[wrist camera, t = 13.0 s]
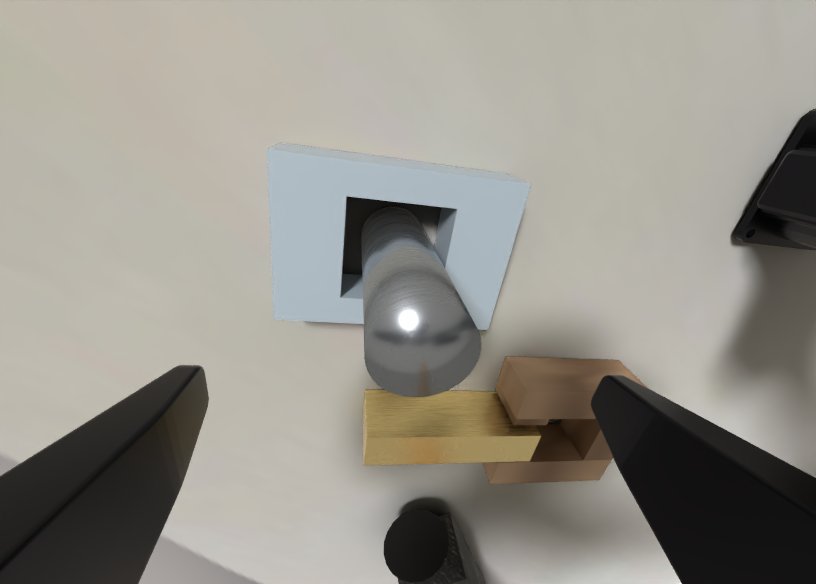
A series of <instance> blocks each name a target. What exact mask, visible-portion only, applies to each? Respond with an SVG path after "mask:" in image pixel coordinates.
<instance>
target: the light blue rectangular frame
mask: <svg viewBox="0 0 816 584" xmlns="http://www.w3.org/2000/svg"><path fill="white" fill-rule="evenodd" d="M267 168H268V192H269V216H270V240H271V264H272V288H273V312H274V320H291V321H312V322H332V323H353V324H364V318H363V283H362V275H355V274H342V273H343V256H344V240H345V224H346V208H347V196H349V197H357V198H366V199H375V200H384V201H392V202H401V203H410V204H419V205H427V206H436V207H441V213H440V218H439V223H438V229H437V234H436V239H435V245H434V249H435V251H436V253H437V255H438V257H439V259H440V260H441V262H442V264H443V266H444V268H445V270H446V271H447V273H448V275H449V277H450V279H451V281H452V282H453V284H454V286H455V288H456V290H457V292H458V293H459V295H460V297H461V299H462V301H463V303H464V304H465V306H466V308H467V310H468V312H469V314H470V315H471V317H472V319H473V321H474V323H475V325H476V327H477V329H478V330H488V328H489V325H490V321H491V318H492V315H493V311H494V308H495V305H496V301H497V298H498V294H499V291H500V288H501V284H502V281H503V278H504V274H505V271H506V268H507V264H508V261H509V258H510V254H511V251H512V247H513V244H514V241H515V237H516V234H517V231H518V227H519V224H520V221H521V217H522V214H523V211H524V207H525V204H526V200H527V197H528V194H529V190H530V187H531V184H529V183H527V182H525V181H523V180H520V179H518V178H516V177H513V176H511V175H509V174H505V173H498V172H490V171H483V170H476V169H469V168H461V167H454V166H447V165H440V164H432V163H425V162H418V161H410V160H403V159H396V158H389V157H381V156H374V155H367V154H360V153H352V152H345V151H338V150H330V149H323V148H316V147H309V146H301V145H294V144H287V143H279V144H277V145H275V146H272V147H270V148H268V149H267Z"/></svg>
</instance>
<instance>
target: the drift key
mask: <svg viewBox="0 0 816 584" xmlns="http://www.w3.org/2000/svg"><path fill="white" fill-rule="evenodd" d="M540 438H541V434H540V433H539V431H538V429H537V427H536V425H513V423H512V421H511V419H510V417H509V415H508V413H507V411H506V409H505V407H504V405H503V403H502V401H501V399H500V397H499V395H498V393H497V392H492V391H445V392H442V393H439V394H436V395H432V396H427V397H405V396H400V395H396V394H393V393H391V392H388V391H387V390H365V398H364V407H363V465H399V464H437V463H475V462H514V461H530V460H531V457H532V455H533V453H534V451H535V449H536V446H537V444H538V442H539V440H540Z"/></svg>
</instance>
